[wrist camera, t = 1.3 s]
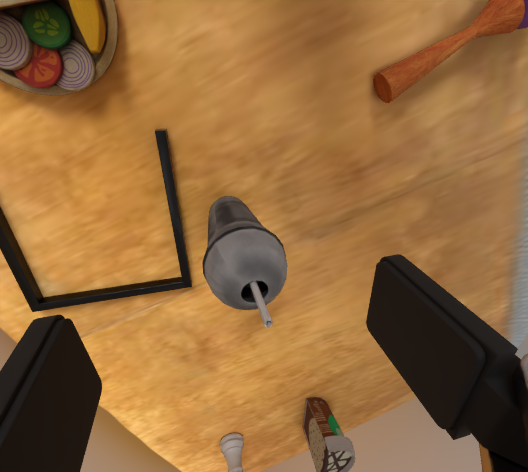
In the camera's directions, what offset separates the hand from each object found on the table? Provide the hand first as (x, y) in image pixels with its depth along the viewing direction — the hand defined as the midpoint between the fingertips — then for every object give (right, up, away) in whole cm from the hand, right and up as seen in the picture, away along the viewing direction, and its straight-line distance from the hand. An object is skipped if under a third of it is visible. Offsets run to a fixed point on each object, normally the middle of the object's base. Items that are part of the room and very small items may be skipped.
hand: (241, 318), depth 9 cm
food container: (+12, -33, +50) cm, 61 cm away
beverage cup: (-4, +5, +26) cm, 27 cm away
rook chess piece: (-6, -37, +47) cm, 60 cm away
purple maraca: (+21, +25, +23) cm, 40 cm away
